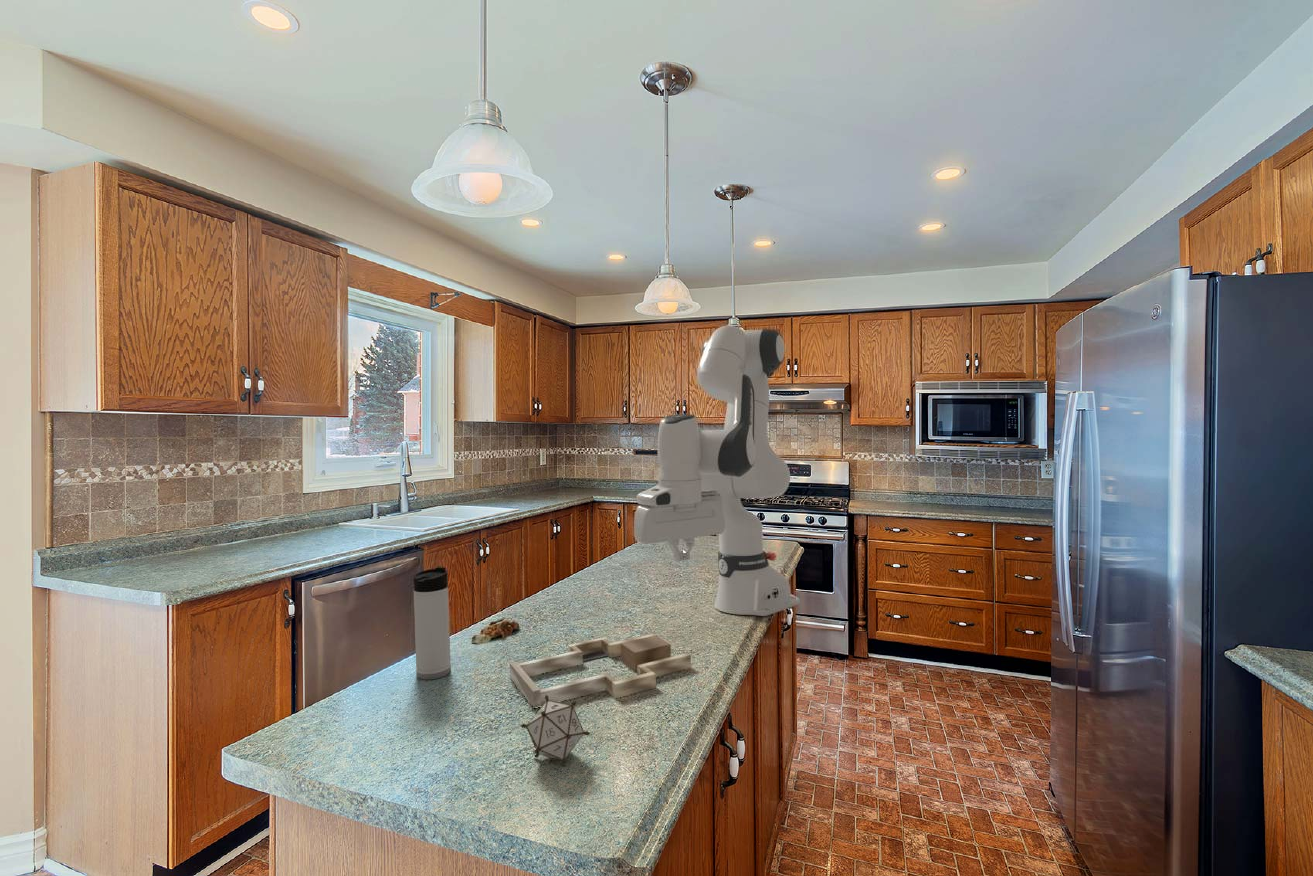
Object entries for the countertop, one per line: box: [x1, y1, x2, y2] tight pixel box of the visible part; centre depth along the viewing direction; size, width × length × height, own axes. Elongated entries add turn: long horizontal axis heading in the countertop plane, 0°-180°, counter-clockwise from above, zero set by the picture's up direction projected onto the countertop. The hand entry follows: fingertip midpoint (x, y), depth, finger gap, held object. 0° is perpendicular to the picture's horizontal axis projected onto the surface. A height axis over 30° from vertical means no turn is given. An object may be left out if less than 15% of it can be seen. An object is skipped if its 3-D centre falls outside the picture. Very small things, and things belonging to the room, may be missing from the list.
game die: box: [520, 695, 591, 765], centre depth 84 cm, size 9×8×10 cm
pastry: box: [470, 617, 521, 645], centre depth 136 cm, size 7×12×4 cm, turn 156°
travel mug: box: [413, 566, 452, 681], centre depth 115 cm, size 6×7×20 cm
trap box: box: [509, 633, 692, 709], centre depth 113 cm, size 31×22×3 cm
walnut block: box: [620, 634, 672, 673], centre depth 117 cm, size 8×6×4 cm
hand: (681, 560), depth 122 cm, fingers closed
